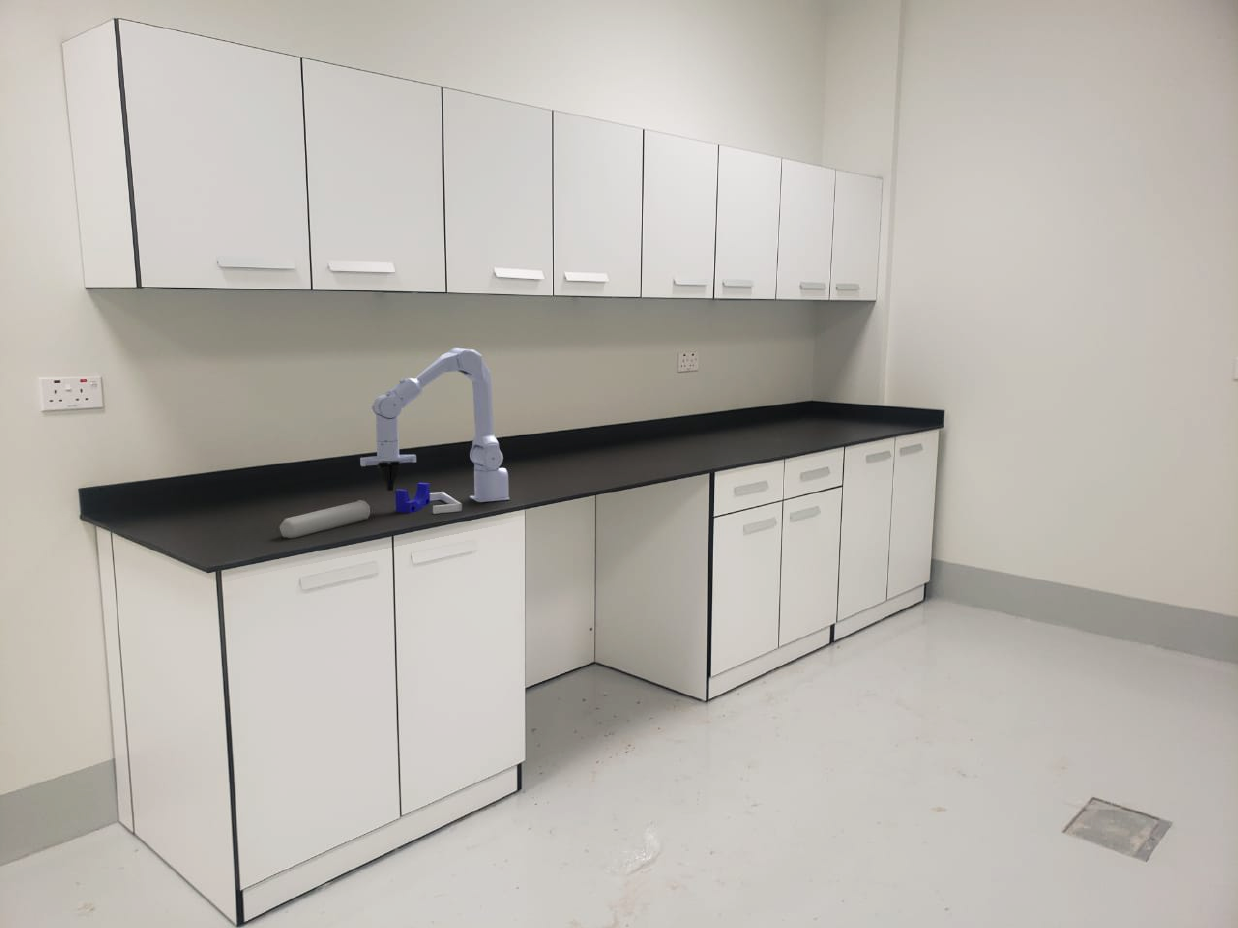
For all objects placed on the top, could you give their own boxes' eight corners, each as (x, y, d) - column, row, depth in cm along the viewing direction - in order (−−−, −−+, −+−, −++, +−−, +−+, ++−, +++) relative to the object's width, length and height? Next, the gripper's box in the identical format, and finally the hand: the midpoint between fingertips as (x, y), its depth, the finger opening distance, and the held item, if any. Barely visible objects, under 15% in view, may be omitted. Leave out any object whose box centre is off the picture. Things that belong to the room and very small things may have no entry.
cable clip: (410, 513, 236) (409, 491, 235) (396, 512, 237) (395, 490, 236) (434, 504, 247) (434, 483, 246) (421, 503, 248) (420, 482, 247)
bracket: (443, 498, 254) (443, 492, 254) (462, 510, 238) (461, 503, 238) (416, 501, 250) (416, 494, 250) (433, 513, 235) (433, 506, 235)
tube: (291, 525, 206) (372, 505, 227) (277, 515, 208) (357, 496, 229) (288, 545, 207) (368, 523, 228) (273, 535, 210) (354, 514, 231)
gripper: (410, 437, 242) (412, 485, 244) (357, 440, 235) (359, 489, 237) (417, 440, 236) (419, 490, 238) (362, 443, 229) (364, 494, 231)
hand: (389, 490), depth 237 cm, fingers closed
